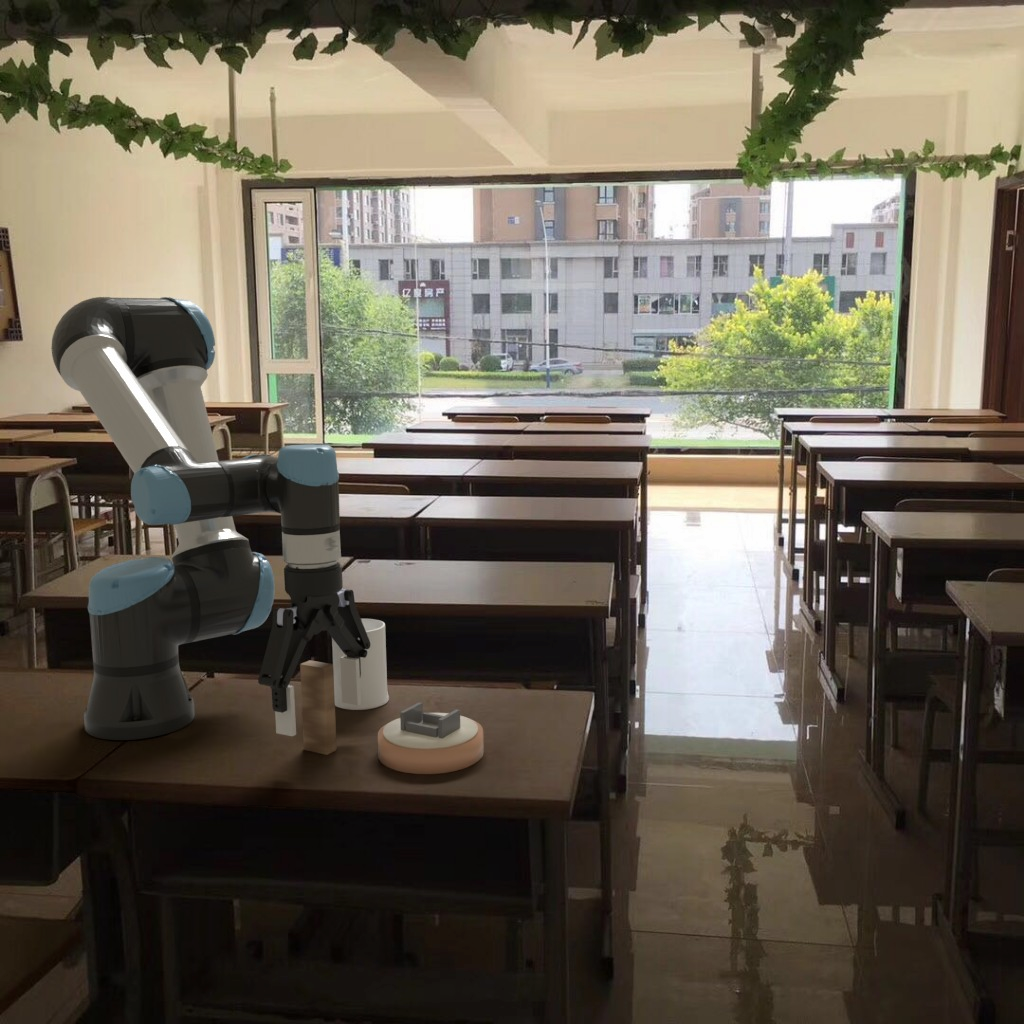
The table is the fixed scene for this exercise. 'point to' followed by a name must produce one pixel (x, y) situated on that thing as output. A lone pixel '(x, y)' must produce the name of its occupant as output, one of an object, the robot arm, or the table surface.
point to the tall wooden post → (318, 707)
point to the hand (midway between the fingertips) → (320, 718)
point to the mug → (366, 669)
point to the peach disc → (430, 742)
